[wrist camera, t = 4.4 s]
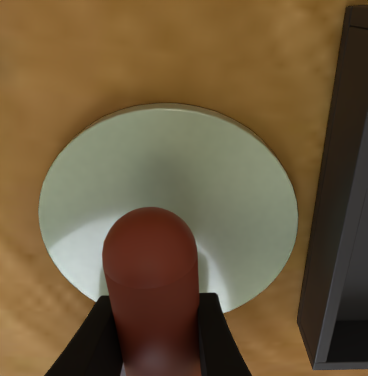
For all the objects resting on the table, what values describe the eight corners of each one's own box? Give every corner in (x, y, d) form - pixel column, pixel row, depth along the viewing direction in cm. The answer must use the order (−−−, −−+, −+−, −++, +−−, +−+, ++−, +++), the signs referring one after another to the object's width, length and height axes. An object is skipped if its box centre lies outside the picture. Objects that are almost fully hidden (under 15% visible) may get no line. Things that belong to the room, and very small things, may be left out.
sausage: (202, 368, 15) (204, 440, 13) (138, 370, 15) (128, 441, 13) (195, 188, 11) (196, 244, 8) (105, 191, 11) (81, 247, 8)
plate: (282, 308, 19) (285, 320, 19) (73, 313, 20) (68, 325, 19) (308, 95, 14) (315, 100, 13) (12, 109, 14) (3, 115, 13)
